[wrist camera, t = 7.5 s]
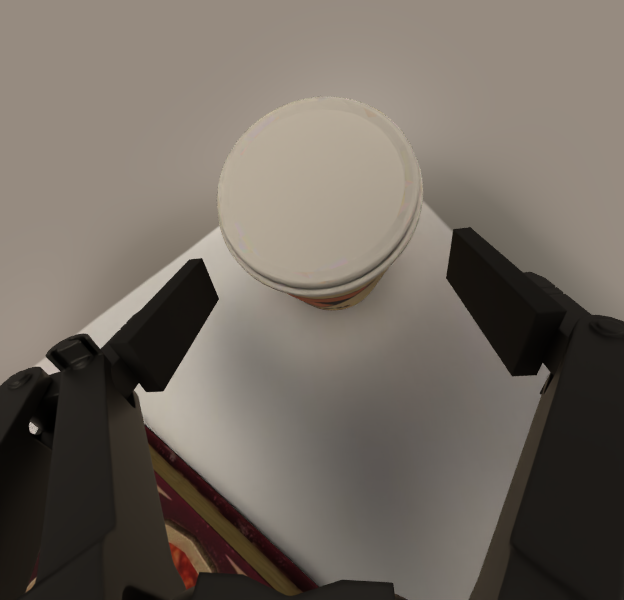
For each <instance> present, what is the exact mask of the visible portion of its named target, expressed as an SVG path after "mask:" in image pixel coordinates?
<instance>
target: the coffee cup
mask: <svg viewBox="0 0 624 600" xmlns="http://www.w3.org/2000/svg"><path fill="white" fill-rule="evenodd" d="M422 200H423V183H422V175H421V170H420V166H419V164H418V161H417V158H416V156H415V154H414V151H413V148H412V146H411V145H410V143H409V141H408V139H407V138H406V136H405V135H404V133H403V132H402V130H401V129H400V128H399V127H398V126H397V125H396V124H395V123H394V122H393V121H392V120H391V119H390V118H388V117H387V116H386V115H384V114H383V113H382V112H380V111H379V110H376V109H375V108H373V107H371V106H368V105H366V104H364V103H362V102H359V101H355V100H351V99H346V98H341V97H315V98H308V99H303V100H298V101H295V102H292V103H289V104H287V105H284V106H281V107H279V108H277V109H275V110H274V111H272V112H270V113H268V114H267V115H265V116H263V117H262V118H261V119H260V120H258V121H257V122H256V123H254V124H253V125H252V126H251V127H250V128H249V129H248V130H247V131H246V132H245V133H244V134H243V135H242V136H241V137H240V139H239V140H238V141H237V143H236V144H235V145H234V147H233V148H232V150H231V152H230V154H229V156H228V157H227V159H226V161H225V163H224V166H223V169H222V172H221V175H220V179H219V184H218V191H217V210H218V218H219V224H220V229H221V232H222V235H223V238H224V241H225V243H226V245H227V247H228V249H229V251H230V252H231V254H232V256H233V257H234V258H235V259H236V261H237V262H238V263H239V265H240V266H241V267H242V268H243V269H244V270H245V271H246V272H247V273H249V274H250V275H251V276H252V277H254V278H255V279H256V280H258V281H260V282H261V283H263V284H265V285H267V286H269V287H271V288H273V289H276V290H278V291H281V292H284V293H287V294H289V295H291V296H293V297H295V298H297V299H299V300H301V301H303V302H305V303H308V304H310V305H312V306H314V307H317V308H320V309H325V310H342V309H346V308H349V307H352V306H354V305H356V304H357V303H359V302H360V301H362V300H363V299H364V298H365V297H366V296H367V295H368V294H369V293H370V292H371V291H372V290H373V288H374V287H375V286H376V284H377V283H378V282H379V280H380V279H381V277H382V276H383V275H384V273H385V272H386V270H387V269H388V267H389V266H390V265H391V264H392V263H393V262H394V261H395V260H396V259H397V257H398V256H399V255H400V254H401V253H402V251H403V250H404V248H405V247H406V245H407V244H408V242H409V241H410V239H411V237H412V235H413V233H414V231H415V228H416V226H417V223H418V220H419V216H420V212H421V208H422Z"/></svg>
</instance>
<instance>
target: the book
mask: <svg viewBox="0 0 624 600" xmlns="http://www.w3.org/2000/svg"><path fill="white" fill-rule="evenodd" d="M144 426H145V425H144ZM145 431H146V436H147V440H148V445H149V450H150V455H151V460H152V464H153V469H154V474H155V479H156V484H157V488H158V493H159V498H160V503H161V507H162V512H163V517H164V522H165V527H166V531H167V536H168V541H169V546H170V550H171V555H172V559H173V563H174V565H175V567H176V569H177V571H178V573H179V574H180V576H181V578H182V580H183V582H184V584H185V587H186V590H187V589H189V588H191V587H193V586H195V585H196V581H197V578H198V574H199V572H211V573H229V574H244V575H246V576H248V577H250V578H252V579H254V580H256V581H258V582H260V583H262V584H264V585H266V586H268V587H270V588H272V589H274V590H276V591H279V592H281V593H283V594H285V595H288V596H293V595H297V594H300V593H303V592H306V591H309V590H312V589H315V588H318V586H317V585H316V584H315V583H314V582H313V581H312V580H311V579H310V578H309V577H308V576H306V575H305V574H304V573H303V572H302V571H301V570H300V569H299V568H298V567H297V566H296V565H295V564H294V563H292V562H291V561H290V560H289V559H288V558H287V557H286V556H285V555H284V554H283V553H282V552H281V551H280V550H279V549H277V548H276V547H275V546H274V545H273V544H272V543H271V542H270V541H269V540H268V539H267V538H266V537H265V536H263V535H262V534H261V533H260V532H259V531H258V530H257V529H256V528H255V527H254V526H253V525H252V524H251V523H249V522H248V521H247V520H246V519H245V518H244V517H243V516H242V515H241V514H240V513H239V512H238V511H237V510H236V509H234V508H233V507H232V506H231V505H230V504H229V503H228V502H227V501H226V500H225V499H224V498H223V497H222V496H220V495H219V494H218V493H217V492H216V491H215V490H214V489H213V488H212V487H211V486H210V485H209V484H208V483H206V482H205V481H204V480H203V479H202V478H201V477H200V476H199V475H198V474H197V473H196V472H195V471H194V470H193V469H191V468H190V467H189V466H188V465H187V464H186V463H185V462H184V461H183V460H182V459H181V458H180V457H179V456H177V455H176V454H175V453H174V452H173V451H172V450H171V449H170V448H169V447H168V446H167V445H166V444H165V443H164V442H162V441H161V440H160V439H159V438H158V437H157V436H156V435H155V434H154V433H153V432H152V431H151V430H150V429H148V428H147V427H146V426H145ZM39 555H40V552H39ZM39 555H38V558H37V561H36V563H35V566H34V569H33V572H32V575H31V578H30V581H29V584H28V587H27V590H26V592H27V591H28V590H30V589H31V588H32V587H33V585H34V584H35V581H36V577H37V571H38V563H39Z"/></svg>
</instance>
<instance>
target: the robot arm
mask: <svg viewBox="0 0 624 600" xmlns="http://www.w3.org/2000/svg"><path fill="white" fill-rule="evenodd" d="M446 279H447V280H448V282H449V283H450V285H451V286H452V287H453V289H454V290H455V292H456V293H457V295H458V296H459V298H460V299H461V301H462V302H463V304H464V305H465V307H466V308H467V310H468V311H469V313H470V314H471V316H472V317H473V319H474V320H475V322H476V323H477V325H478V326H479V328H480V329H481V331H482V332H483V334H484V335H485V337H486V338H487V340H488V341H489V343H490V344H491V346H492V347H493V349H494V350H495V352H496V353H497V355H498V356H499V358H500V359H501V361H502V362H503V364H504V365H505V367H506V368H507V369H508V371H509V372H510V374H511V375H512V376H529V375H537V373H538V371H539V369H540V367H541V365H542V363H544V365H545V366H546V367H547V368H548V370H549V371H550V374H549V376H548V378H547V380H546V382H545V384H544V386H543V388H542V390H541V392H540V394H542V395H541V398H540V401H539V404H538V407H537V410H536V412H535V415H534V418H533V421H532V424H531V427H530V430H529V433H528V436H527V439H526V441H525V444H524V447H523V450H522V453H521V456H520V459H519V462H518V465H517V468H516V470H515V473H514V476H513V479H512V482H511V485H510V488H509V491H508V494H507V497H506V499H505V502H504V505H503V508H502V511H501V514H500V517H499V520H498V523H497V526H496V528H495V531H494V534H493V537H492V540H491V543H490V546H489V549H488V552H487V555H486V558H485V560H484V563H483V566H482V569H481V572H480V575H479V577H478V580H477V582H476V585H475V587H474V589H473V591H472V593H471V596H470V598H469V600H624V322H623V321H621V320H618V319H615V318H612V317H607V316H601V315H591V314H590V313H589V312H587V311H586V310H585V309H584V308H582V307H581V306H580V305H579V304H577V303H576V302H575V301H574V300H572V299H571V298H570V297H569V296H567V295H566V294H563V292H562V291H561V290H559V289H558V288H557V287H556V288H555V285H553V284H552V283H551V282H549V281H548V280H547V279H546V278H544V277H542V276H539V275H537V274H535V273H532V272H525V273H523V272H522V271H520V270H519V269H518V268H517V267H516V266H515V265H514V264H512V263H511V262H510V261H509V260H508V259H506V258H505V257H504V256H503V255H502V254H500V252H498V251H497V250H496V249H495V248H494V247H493V246H491V245H490V244H489V243H488V242H487V241H486V240H484V239H483V238H482V237H481V236H480V235H479V234H477V233H476V232H475V231H474V230H473V229H472V228H470V227H469V228H462V229H453V236H452V242H451V249H450V256H449V263H448V269H447V276H446ZM218 300H219V298H218V295H217V293H216V291H215V288H214V286H213V283H212V281H211V279H210V276H209V274H208V271H207V269H206V267H205V264H204V262H203V259H202V258H200V259H191V260H188V261H187V263H186V264H185V265H184V266H183V267H182V268H181V269H180V270H179V271H178V272H177V273H176V274H175V275H174V276H173V277H172V278H171V279H170V280H169V281H168V282H167V283H166V284H165V285H164V286H163V287H162V289H161V290H160V291H159V292H158V293H157V294H156V295H155V296H154V297H153V298H152V299H151V300H150V301H149V302H148V303H147V304H146V305H145V306H144V307H143V308H142V309H141V310H140V311H139V312H137V313H136V314H134V315H133V316H132V317H131V318H130V319H129V320H128V321H127V322H126V323H127V324H125V325H124V326H123V327H122V328H121V330H119V331H118V332H117V333H116V334H115V335H114V336H113V337H112V338H111V339H110V340H109V341H108V342H107V343H106V344H105V345H104V346H103V347H102V348H101V349H100V348H99V347H98V346H97V345H96V344H95V342H94V341H93V340H92V339H91V337H90V336H89V335H88V334H77V335H74V336H71V337H69V338H67V339H65V340H63V341H61V342H59V343H58V344H56V345H55V346H54V347H52V348H51V349H50V350H49V351H48V352H47V354H46V357H47V358H48V359H49V360H50V361H51V362H52V363H53V364H54V365H55V366H56V367H57V368H58V369H59V370H60V371H61V372H57V373H54V374H51V375H48V374H47V373H46V372H45V371H44V370H43V369H42V368H41V367H32V368H28V369H26V370H23V371H20V372H18V373H16V374H14V375H12V376H11V377H10V378H9V379H8V380H6V381H5V382H4V383H3V384H2V385H1V386H0V600H408V599H406V598H404V597H401V596H399V595H397V594H395V593H394V585H393V583H390V582H372V581H354V580H340V581H337V582H334V583H331V584H328V585H325V586H322V587H318V588H315V589H312V590H309V591H306V592H303V593H300V594H297V595H293V596H288V595H285V594H283V593H281V592H279V591H276V590H274V589H272V588H270V587H268V586H266V585H264V584H262V583H260V582H258V581H256V580H254V579H252V578H250V577H248V576H246V575H244V574H229V573H211V572H199V574H198V578H197V581H196V585H195V586H193V587H191V588H189V589H187V590H186V587H185V584H184V582H183V580H182V578H181V576H180V574H179V573H178V571H177V569H176V567H175V565H174V563H173V559H172V555H171V550H170V546H169V541H168V536H167V531H166V527H165V522H164V517H163V512H162V507H161V503H160V498H159V493H158V488H157V484H156V479H155V474H154V469H153V464H152V460H151V455H150V450H149V445H148V440H147V436H146V431H145V426H144V421H143V417H142V412H141V407H140V402H139V397H138V395H137V394H136V392H135V391H134V389H135V388H136V386H137V385H138V383H140V385H141V386H142V387H143V388H144V390H145V391H146V392H161V391H164V389H165V388H166V386H167V384H168V383H169V381H170V379H171V378H172V376H173V374H174V373H175V371H176V369H177V368H178V366H179V364H180V363H181V361H182V360H183V358H184V356H185V355H186V353H187V351H188V350H189V348H190V346H191V345H192V343H193V341H194V340H195V338H196V336H197V335H198V333H199V331H200V330H201V328H202V326H203V325H204V323H205V321H206V320H207V318H208V316H209V315H210V313H211V311H212V310H213V308H214V306H215V305H216V303H217V302H218ZM30 422H31V423H33V424H34V425H35V426H37V427H38V430H37V432H36V434H35V435H34V434H32V433H31V432H30V430H29V423H30ZM39 552H40V555H39ZM38 555H39V563H38V571H37V577H36V581H35V584H34V585H33V587H32V588H31V589H30V590H28V591H27V592H26V590H27V587H28V584H29V581H30V578H31V575H32V572H33V569H34V566H35V563H36V561H37V558H38Z"/></svg>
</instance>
